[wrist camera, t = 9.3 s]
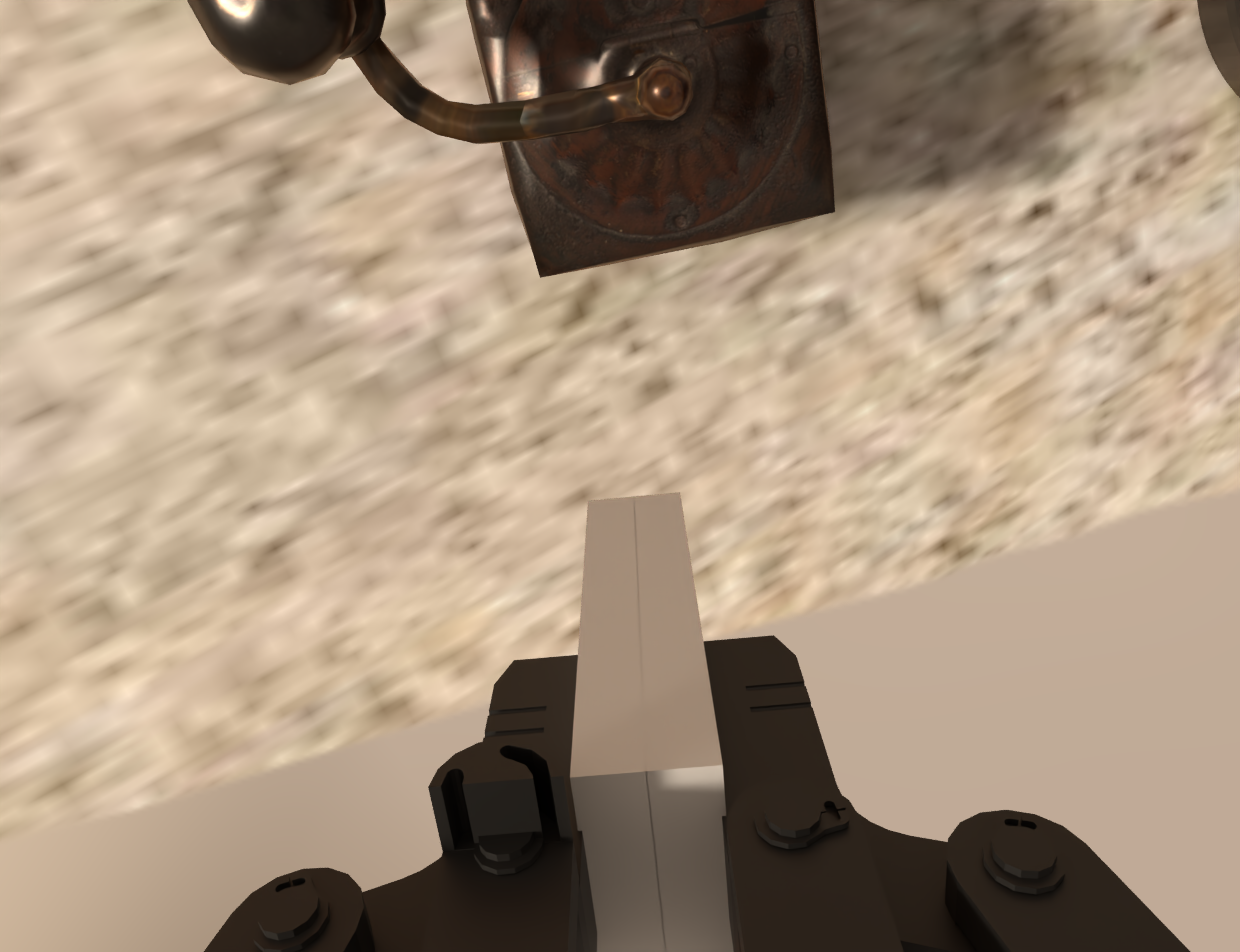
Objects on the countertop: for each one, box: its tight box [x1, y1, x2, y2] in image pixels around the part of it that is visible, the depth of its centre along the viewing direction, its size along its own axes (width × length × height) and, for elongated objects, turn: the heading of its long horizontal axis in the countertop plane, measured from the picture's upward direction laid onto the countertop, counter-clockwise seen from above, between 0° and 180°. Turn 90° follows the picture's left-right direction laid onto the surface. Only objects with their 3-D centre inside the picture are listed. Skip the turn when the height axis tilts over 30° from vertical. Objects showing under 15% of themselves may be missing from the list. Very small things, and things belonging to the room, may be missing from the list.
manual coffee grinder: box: [188, 0, 835, 278], centre depth 29 cm, size 16×11×18 cm
